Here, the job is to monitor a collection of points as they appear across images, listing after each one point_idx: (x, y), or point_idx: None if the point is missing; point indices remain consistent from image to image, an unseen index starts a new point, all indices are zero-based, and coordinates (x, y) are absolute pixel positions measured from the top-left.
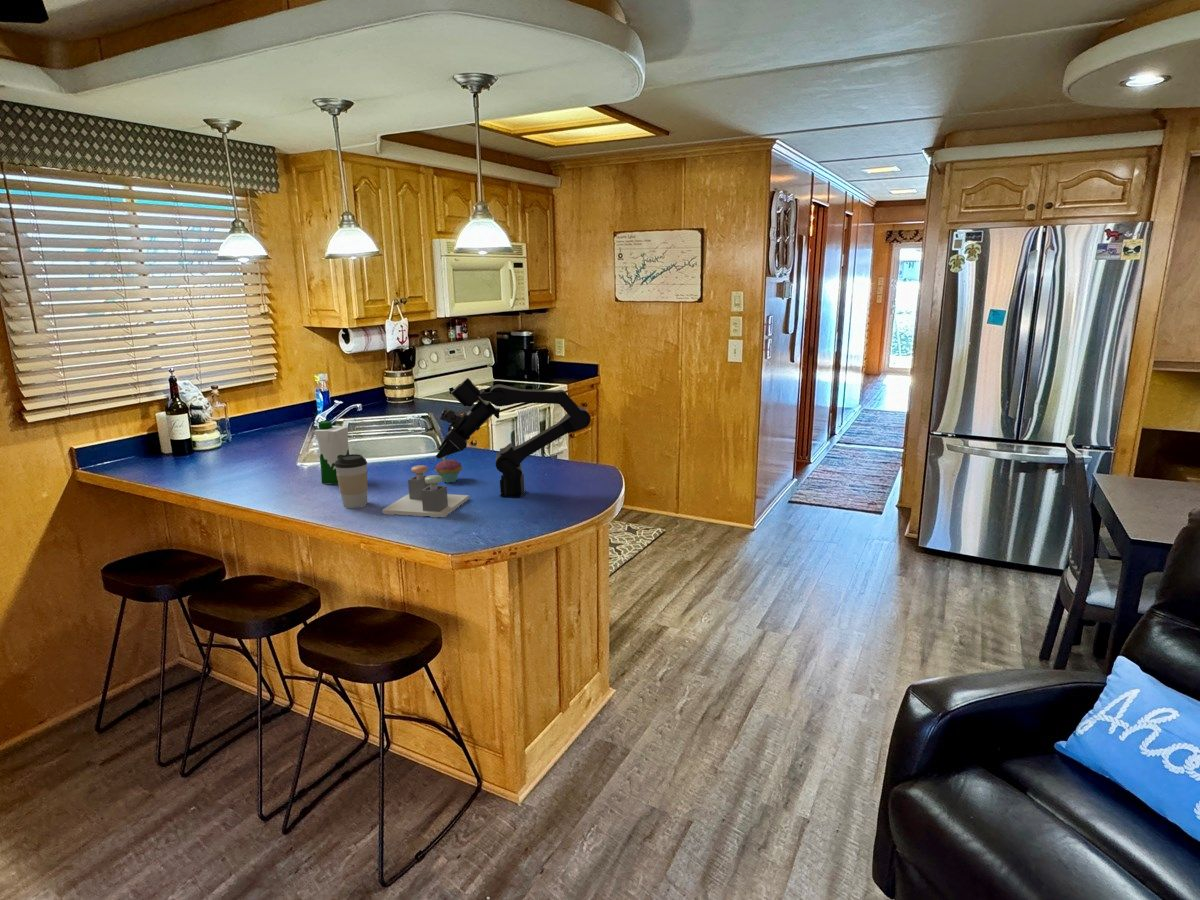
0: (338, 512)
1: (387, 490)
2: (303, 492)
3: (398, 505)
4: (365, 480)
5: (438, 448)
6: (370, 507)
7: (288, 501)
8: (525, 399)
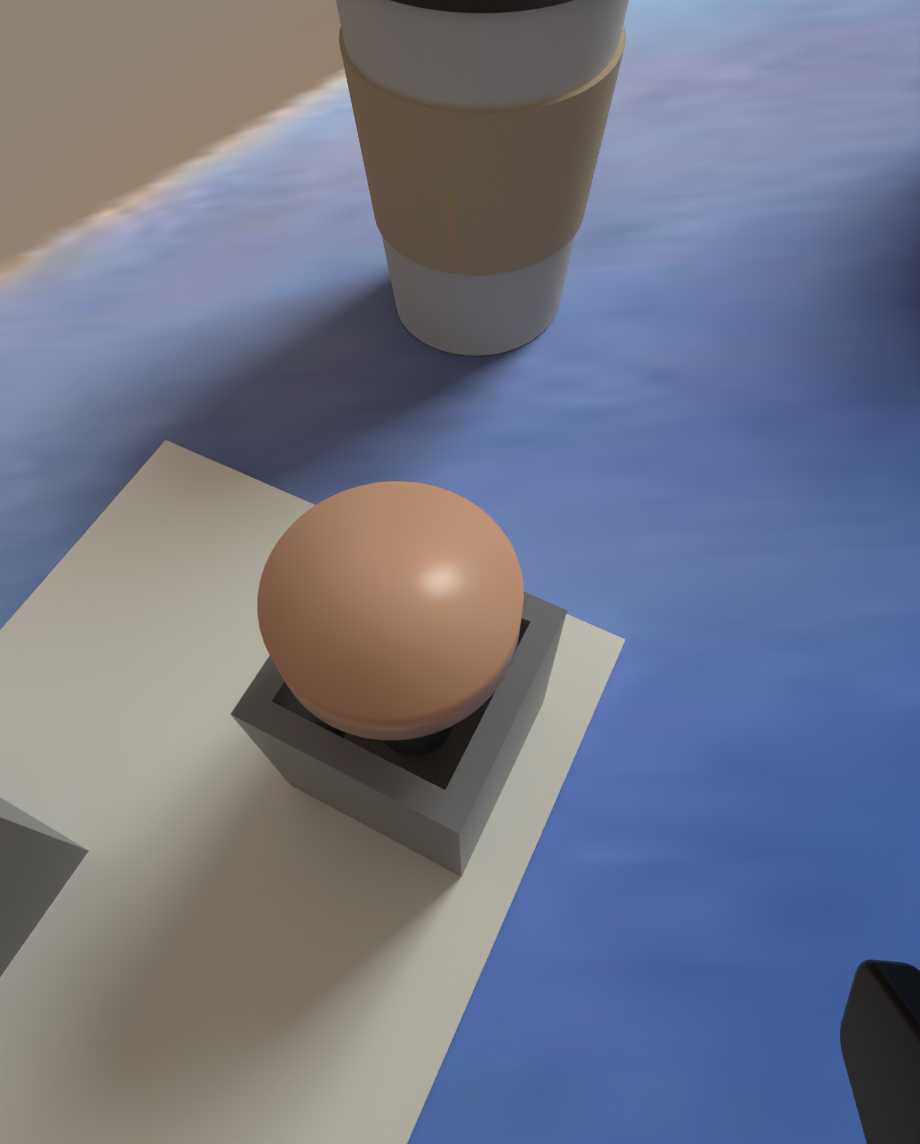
0: (337, 233)
1: (817, 457)
2: (807, 62)
3: (221, 545)
4: (425, 179)
5: (876, 967)
6: (375, 380)
7: (638, 35)
8: None
